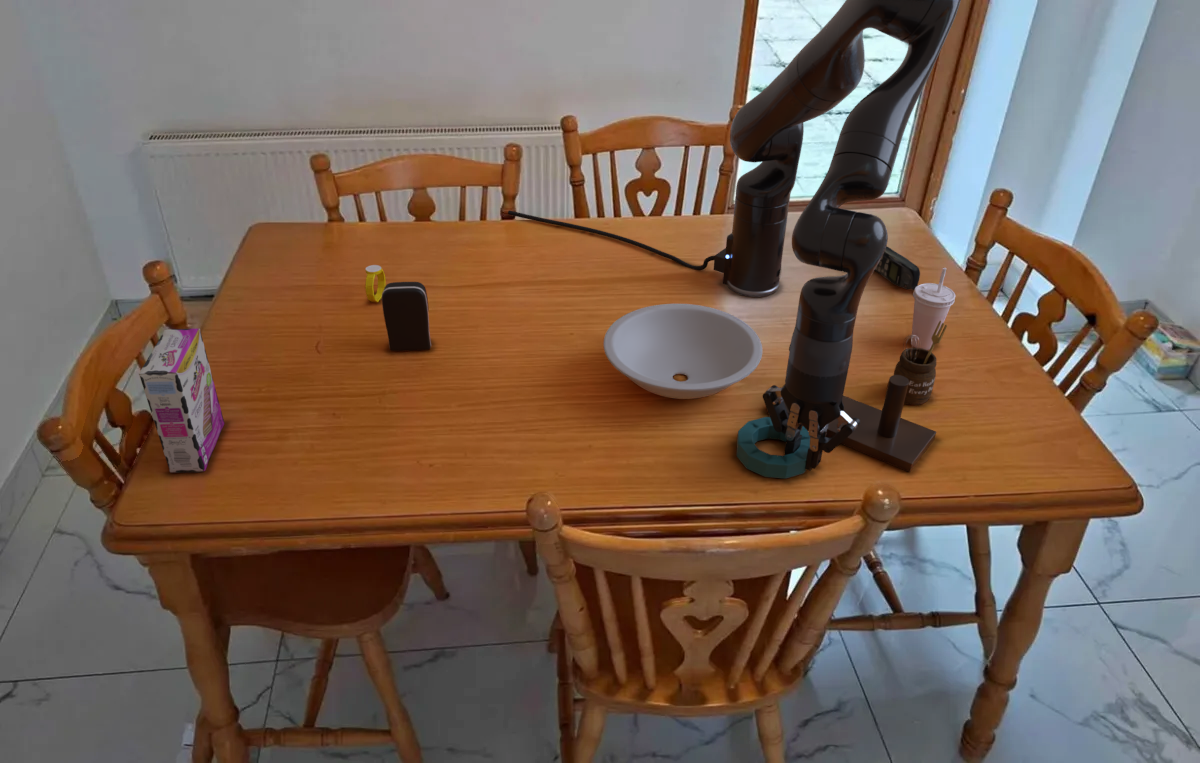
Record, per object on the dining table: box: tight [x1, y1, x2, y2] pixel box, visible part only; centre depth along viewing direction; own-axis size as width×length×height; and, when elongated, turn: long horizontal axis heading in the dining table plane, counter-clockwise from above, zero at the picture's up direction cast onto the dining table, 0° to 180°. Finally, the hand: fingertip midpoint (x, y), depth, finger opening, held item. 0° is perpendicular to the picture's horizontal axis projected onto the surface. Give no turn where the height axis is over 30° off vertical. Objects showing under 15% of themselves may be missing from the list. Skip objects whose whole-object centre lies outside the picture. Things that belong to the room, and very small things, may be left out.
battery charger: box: [381, 281, 432, 352], centre depth 149 cm, size 7×4×11 cm, turn 94°
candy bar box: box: [138, 327, 225, 474], centre depth 125 cm, size 11×5×16 cm, turn 5°
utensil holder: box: [893, 321, 948, 406], centre depth 138 cm, size 6×6×12 cm
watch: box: [364, 264, 387, 303], centre depth 163 cm, size 6×3×6 cm, turn 171°
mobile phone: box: [874, 245, 921, 291], centre depth 170 cm, size 5×3×15 cm
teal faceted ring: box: [736, 416, 810, 480], centre depth 129 cm, size 10×10×2 cm
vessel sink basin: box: [602, 303, 763, 400], centre depth 143 cm, size 24×24×7 cm
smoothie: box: [910, 267, 956, 351], centre depth 149 cm, size 6×6×14 cm
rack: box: [767, 374, 937, 473], centre depth 132 cm, size 22×9×10 cm, turn 53°
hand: (801, 462), depth 127 cm, fingers closed on teal faceted ring, 2 cm apart
